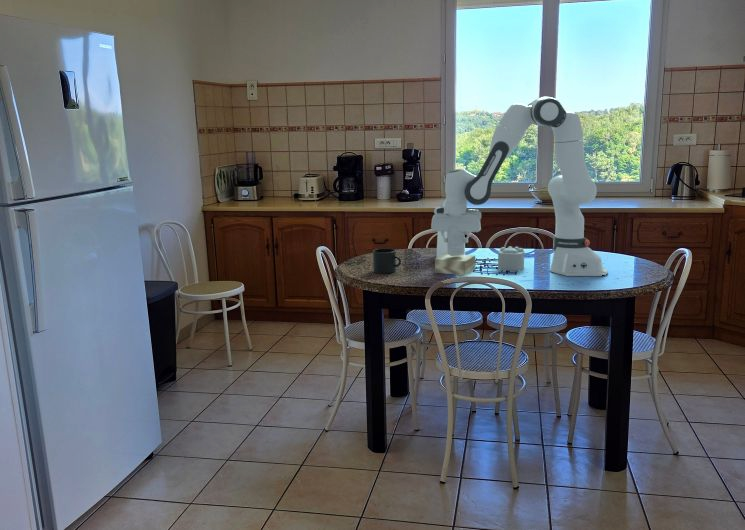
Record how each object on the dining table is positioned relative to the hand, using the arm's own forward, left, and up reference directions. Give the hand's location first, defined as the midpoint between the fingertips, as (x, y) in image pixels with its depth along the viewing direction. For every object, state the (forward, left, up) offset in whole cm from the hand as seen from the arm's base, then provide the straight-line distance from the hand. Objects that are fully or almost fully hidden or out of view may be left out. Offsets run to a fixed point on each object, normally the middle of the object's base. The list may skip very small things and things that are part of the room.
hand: (455, 242), depth 270 cm
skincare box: (0, 0, -5) cm, 5 cm away
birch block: (0, 0, -12) cm, 12 cm away
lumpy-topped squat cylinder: (-22, -11, -12) cm, 28 cm away
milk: (+7, -29, -12) cm, 33 cm away
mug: (+27, +9, -12) cm, 31 cm away
